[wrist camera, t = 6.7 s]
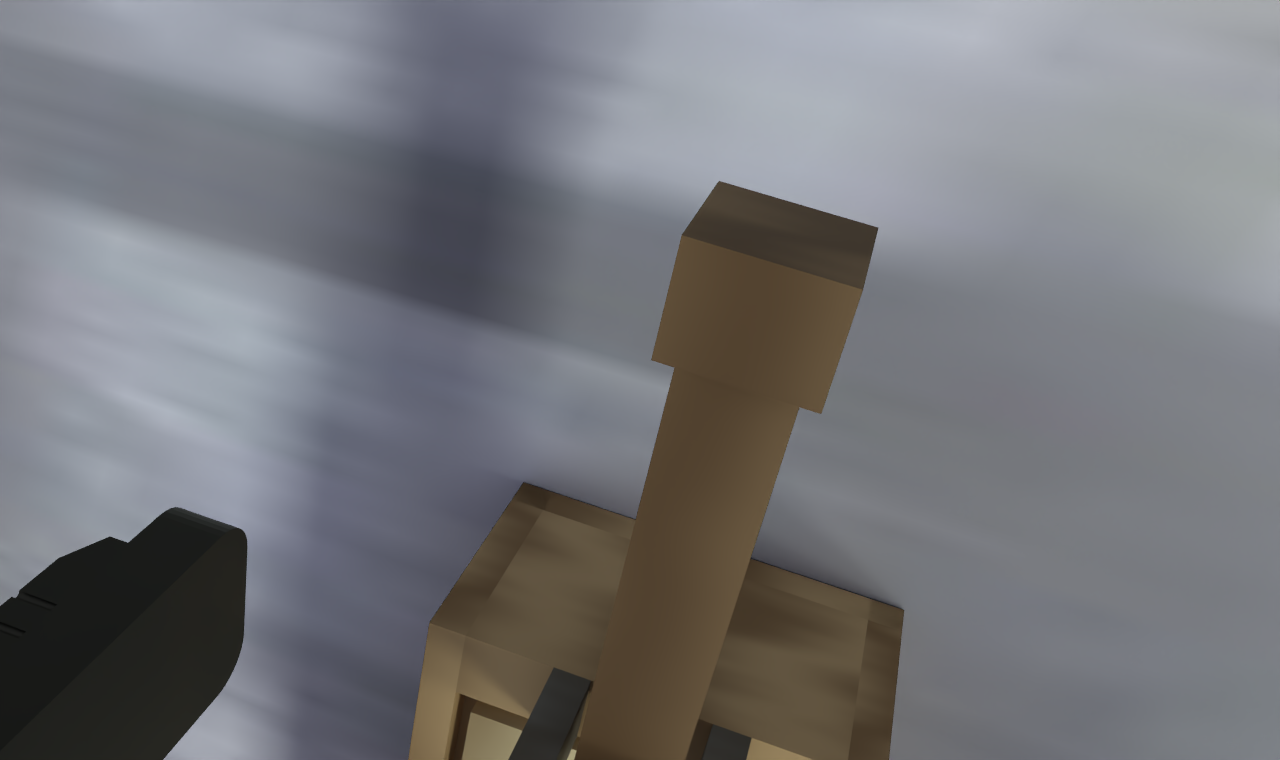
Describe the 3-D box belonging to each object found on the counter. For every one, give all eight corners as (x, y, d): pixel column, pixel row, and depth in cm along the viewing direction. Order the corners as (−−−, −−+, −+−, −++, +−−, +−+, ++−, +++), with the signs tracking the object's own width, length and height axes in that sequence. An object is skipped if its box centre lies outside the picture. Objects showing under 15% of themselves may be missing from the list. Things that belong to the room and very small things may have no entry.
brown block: (878, 227, 22) (863, 289, 20) (708, 737, 29) (679, 837, 26) (718, 181, 23) (681, 235, 20) (587, 695, 30) (546, 787, 27)
